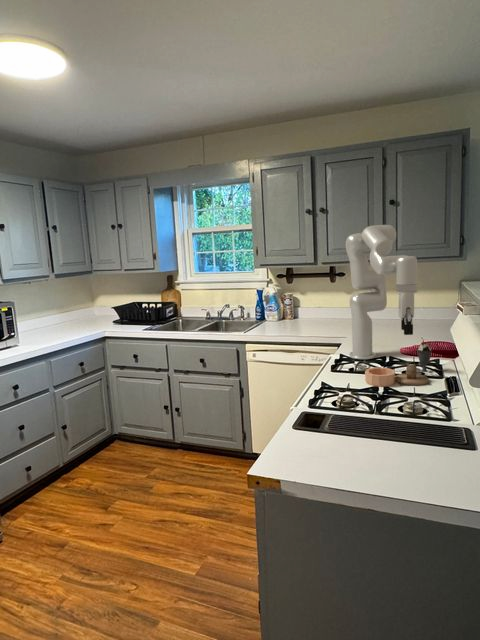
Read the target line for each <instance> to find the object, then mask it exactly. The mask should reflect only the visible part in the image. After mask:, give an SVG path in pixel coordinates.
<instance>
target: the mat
mask: <svg viewBox="0 0 480 640" xmlns="http://www.w3.org/2000/svg"><path fill="white" fill-rule="evenodd" d="M397 384H398V385H399V386H400V387H409V386H408V385H403V384H399V383H397ZM421 386H433V384H432V383H430V382H429V381H428V383H427V384H425V385H421ZM421 386H420V387H421Z"/></svg>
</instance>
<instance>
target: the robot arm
mask: <svg viewBox="0 0 480 640" xmlns="http://www.w3.org/2000/svg"><path fill="white" fill-rule="evenodd" d="M396 239H397V231H396V229H395V227H394V226H393V225H390V224H377V225H376V224H375V225H369V226H367V227H365V228H364V229H363V230H362V232H358V233H357V232H356V233H353V234H349V235H348V236H347V238H346V241H345V251H346V254H347V258H348V259H349V260H348V261H349V267H350V280H351V281H350V282H351V286H352V289H354V290H357V291H366V292H357V293H354V294H353V295H351V296H350V298H349V307H350V313H351V326H352V327H351V329H352V330H351V331H352V332H351V334H352V335H351V336H352V337H351V338H352V339H351V342H352V346H351V347H352V351H351V352H349V357H350V358H352V359H355V360H370V359H371V360H372V359H374V358H376V356H377V354H376V353H375V352H374V351H373V319H372V318H371V317H370V316H369V314H368V313H371V312H381V311H384V310H385V309H386V307H387V304H388V303H387V302H388V301H387V300H388V299H387V285H386V284H387V282H386V276H395V275H396V293H397V294H398V317H399V319H401V320H400V321H401V323H400V324H401V325H400V327H401V329H400V330H402V331H403V334H404V336H409V335H410V336H412V335H414V323H413V319H414V317H415V293H418V259H417V257H416V256H413V255H405V254H403V255H402V254H401V255H389V253H390V252H391V251H392V249H393V243H394V242H395V241H396ZM368 251H369V252H370V253H369V259H368V258H367V256H366V255H365V253H364V252H368ZM369 263H370V266H371V268H372V269H370V267H369ZM367 290H373V291H367Z"/></svg>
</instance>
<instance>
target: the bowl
mask: <svg viewBox="0 0 480 640" xmlns="http://www.w3.org/2000/svg"><path fill="white" fill-rule="evenodd" d="M364 377H365V379H364V381H365V383H366V384H367V385H369V386H371V387H380V388H382V387H383V388H384V387H390V386H393V385H394V384H395V383H396V381H395V377H396V371H395V370H394V369H392V368H389V367H380V366H379V367H377V366H376V367H370V368H367V369H366V370H365V371H364Z"/></svg>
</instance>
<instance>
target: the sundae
mask: <svg viewBox="0 0 480 640" xmlns="http://www.w3.org/2000/svg"><path fill="white" fill-rule="evenodd" d="M421 339H422V341H421V344H420V345H419V347H416V349H415V351H417V354H418V361H419V363H420V364H421V365H422V369H421V370H420V372H421V373H427V372H429V371H428V369H427V364H429V363H430V362H431V361H430V360H431V355H432V352H433V349H432V348H431V347H430V346H429V345H428V344H427V343H426V342H425V340H424V338H423V337H421Z"/></svg>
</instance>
